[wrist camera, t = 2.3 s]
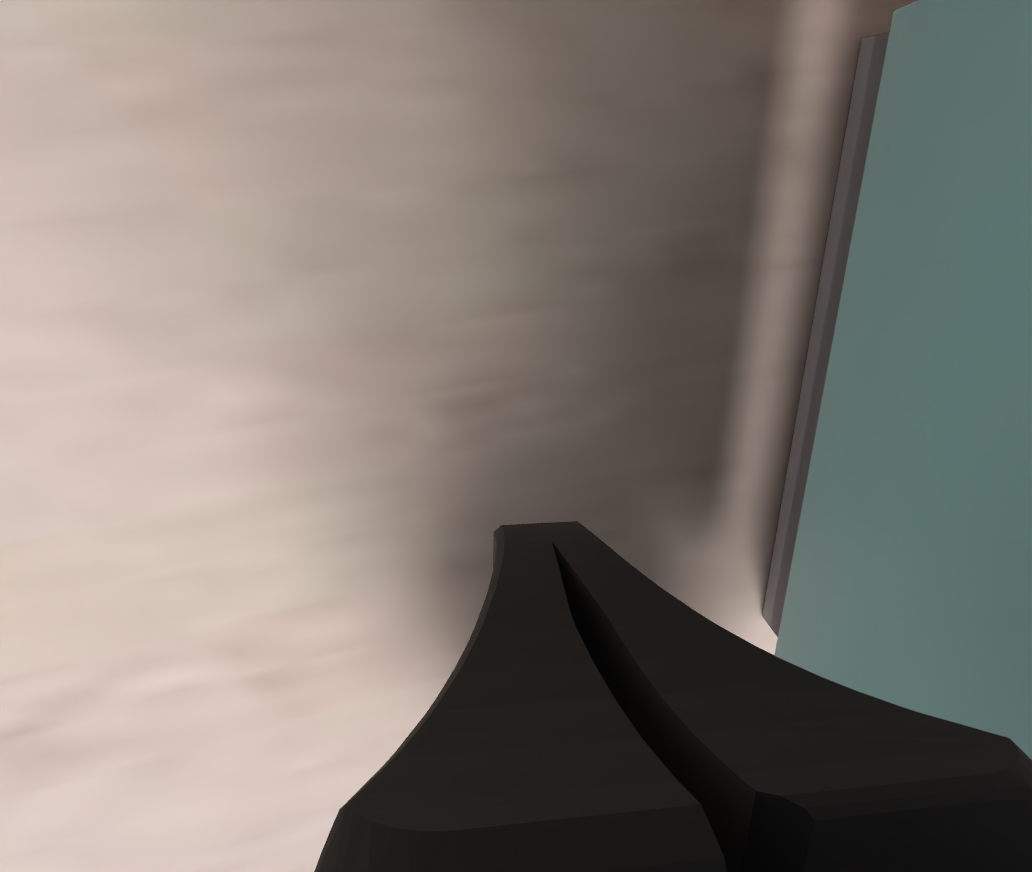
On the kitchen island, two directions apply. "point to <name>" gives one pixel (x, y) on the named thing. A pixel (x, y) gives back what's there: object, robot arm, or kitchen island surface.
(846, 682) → the panel
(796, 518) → the cable duct
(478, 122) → the kitchen island surface
